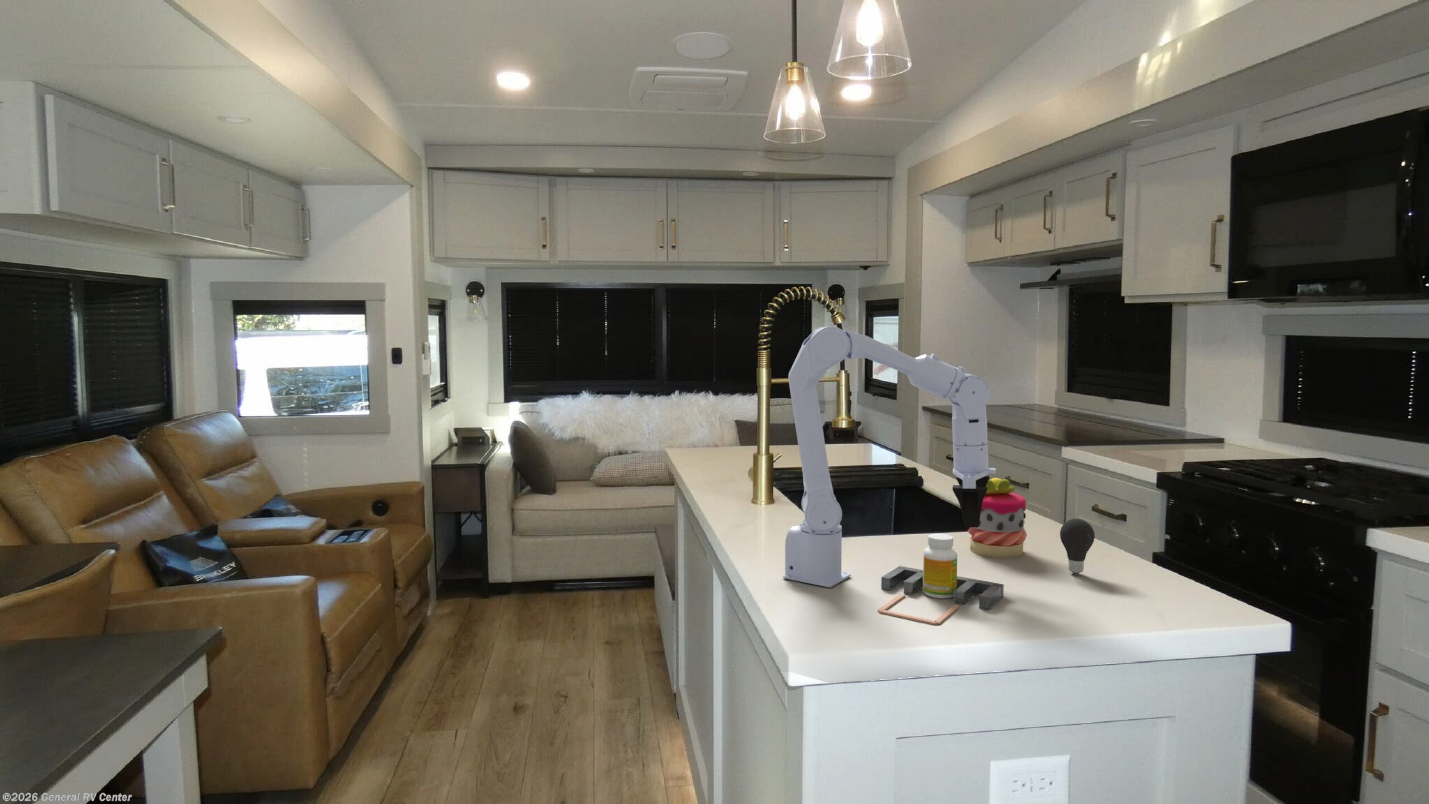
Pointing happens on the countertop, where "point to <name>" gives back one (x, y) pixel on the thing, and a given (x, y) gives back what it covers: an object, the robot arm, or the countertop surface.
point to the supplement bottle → (940, 567)
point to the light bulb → (1077, 542)
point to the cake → (1000, 522)
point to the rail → (962, 594)
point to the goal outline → (901, 596)
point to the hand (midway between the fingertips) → (972, 521)
